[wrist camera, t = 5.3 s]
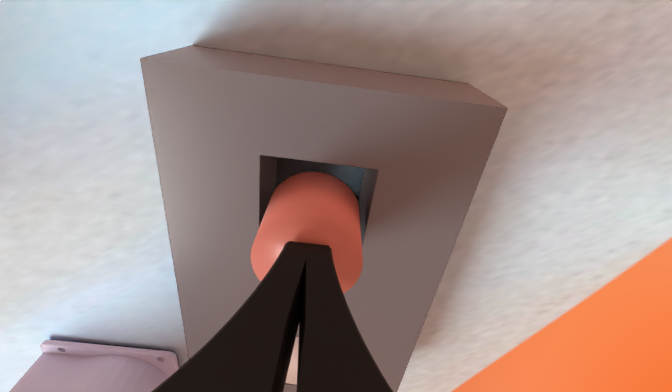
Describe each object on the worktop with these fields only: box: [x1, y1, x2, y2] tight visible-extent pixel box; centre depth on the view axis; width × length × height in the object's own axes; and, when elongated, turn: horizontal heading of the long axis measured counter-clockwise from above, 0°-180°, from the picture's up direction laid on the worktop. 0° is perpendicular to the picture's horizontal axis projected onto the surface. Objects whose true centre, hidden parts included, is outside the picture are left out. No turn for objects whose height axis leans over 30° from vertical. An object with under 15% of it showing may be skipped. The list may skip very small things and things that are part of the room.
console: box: [140, 45, 507, 392], centre depth 17 cm, size 12×20×4 cm, turn 173°
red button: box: [251, 172, 363, 293], centre depth 12 cm, size 4×4×3 cm
